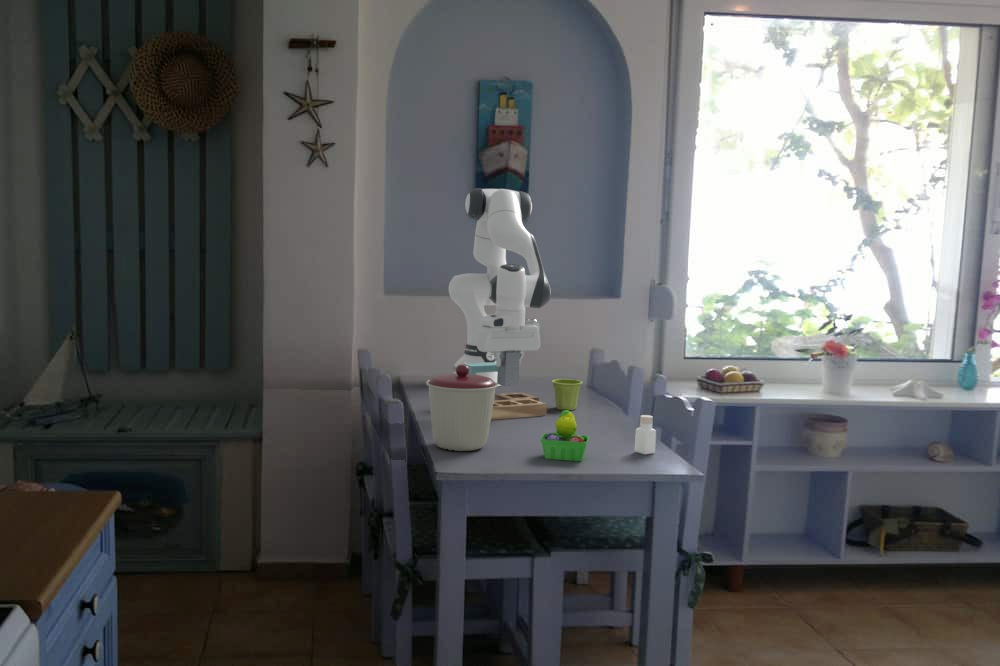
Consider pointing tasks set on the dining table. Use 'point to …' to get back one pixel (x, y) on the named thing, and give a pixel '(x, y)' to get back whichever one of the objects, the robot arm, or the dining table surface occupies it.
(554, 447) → the fruit basket
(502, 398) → the socket frame
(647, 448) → the salt shaker
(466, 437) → the canister
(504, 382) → the grey rectangular block
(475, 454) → the dining table surface
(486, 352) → the robot arm
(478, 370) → the plate
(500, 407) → the rack
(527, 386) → the dining table surface
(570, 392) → the plant pot
